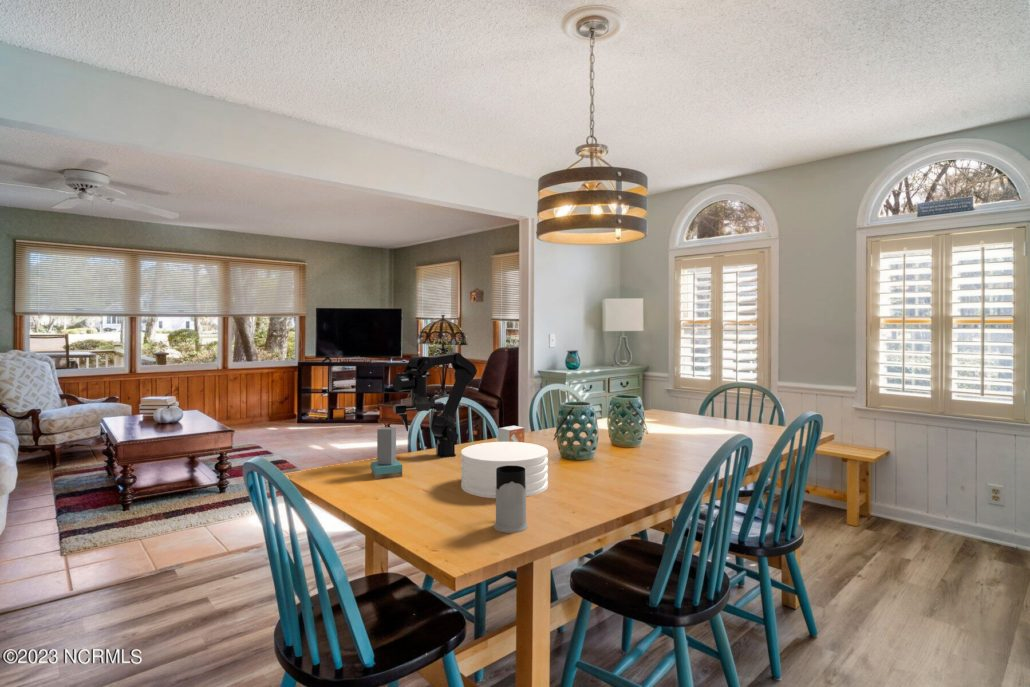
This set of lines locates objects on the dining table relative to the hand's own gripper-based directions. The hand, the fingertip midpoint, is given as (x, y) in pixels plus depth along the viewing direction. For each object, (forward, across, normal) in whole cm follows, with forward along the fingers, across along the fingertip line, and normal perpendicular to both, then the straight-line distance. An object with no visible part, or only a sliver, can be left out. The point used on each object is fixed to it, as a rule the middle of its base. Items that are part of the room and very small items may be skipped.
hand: (419, 430), depth 216 cm
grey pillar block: (+8, -15, -14) cm, 22 cm away
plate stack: (+12, +18, -42) cm, 47 cm away
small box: (+12, +32, -14) cm, 37 cm away
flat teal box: (+13, -15, -14) cm, 24 cm away
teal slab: (+10, -15, -14) cm, 23 cm away
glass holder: (+12, +7, -75) cm, 76 cm away
